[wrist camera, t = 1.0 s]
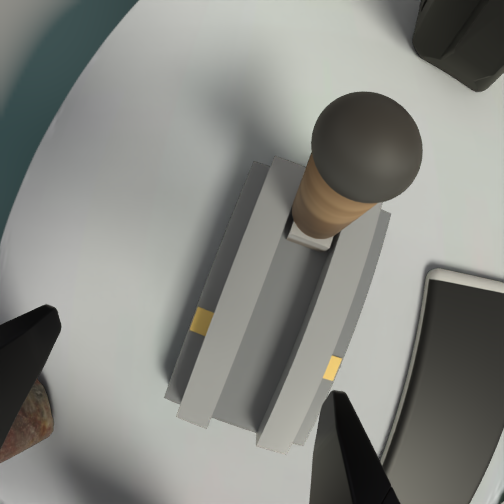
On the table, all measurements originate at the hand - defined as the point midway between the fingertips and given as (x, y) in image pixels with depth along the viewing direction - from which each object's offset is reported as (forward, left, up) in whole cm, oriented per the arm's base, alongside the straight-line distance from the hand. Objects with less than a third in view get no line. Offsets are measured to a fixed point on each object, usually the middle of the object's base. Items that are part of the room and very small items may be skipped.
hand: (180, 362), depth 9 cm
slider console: (0, -4, -13) cm, 14 cm away
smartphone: (-16, -15, -14) cm, 26 cm away
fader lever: (+4, -7, -11) cm, 14 cm away
